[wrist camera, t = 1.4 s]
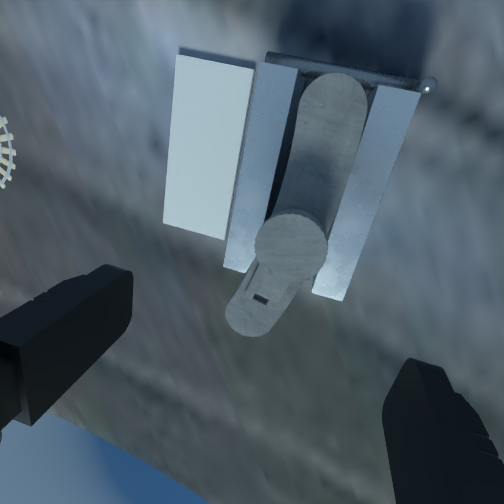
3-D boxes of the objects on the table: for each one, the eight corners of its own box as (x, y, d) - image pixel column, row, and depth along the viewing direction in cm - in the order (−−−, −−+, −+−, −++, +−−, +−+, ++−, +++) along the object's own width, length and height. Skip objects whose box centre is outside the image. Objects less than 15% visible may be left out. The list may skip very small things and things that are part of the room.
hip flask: (323, 94, 30) (310, 50, 12) (363, 109, 30) (412, 85, 12) (267, 239, 37) (206, 349, 19) (300, 252, 36) (269, 377, 18)
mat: (255, 70, 30) (253, 69, 30) (225, 238, 38) (224, 240, 37) (179, 55, 32) (176, 53, 31) (165, 221, 39) (162, 222, 38)
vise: (419, 85, 28) (444, 73, 22) (349, 272, 36) (352, 304, 30) (273, 56, 30) (257, 38, 23) (237, 241, 38) (218, 265, 31)
